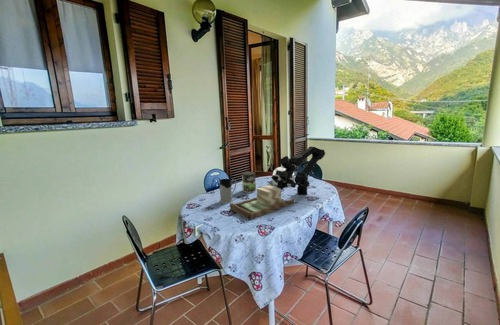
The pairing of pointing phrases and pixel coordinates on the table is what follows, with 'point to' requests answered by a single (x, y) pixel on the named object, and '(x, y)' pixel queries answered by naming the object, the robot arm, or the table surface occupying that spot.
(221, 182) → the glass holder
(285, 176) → the robot arm
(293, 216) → the table surface
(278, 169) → the butter dish
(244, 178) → the coffee can
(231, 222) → the table surface
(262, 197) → the birch block
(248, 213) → the trap lane
